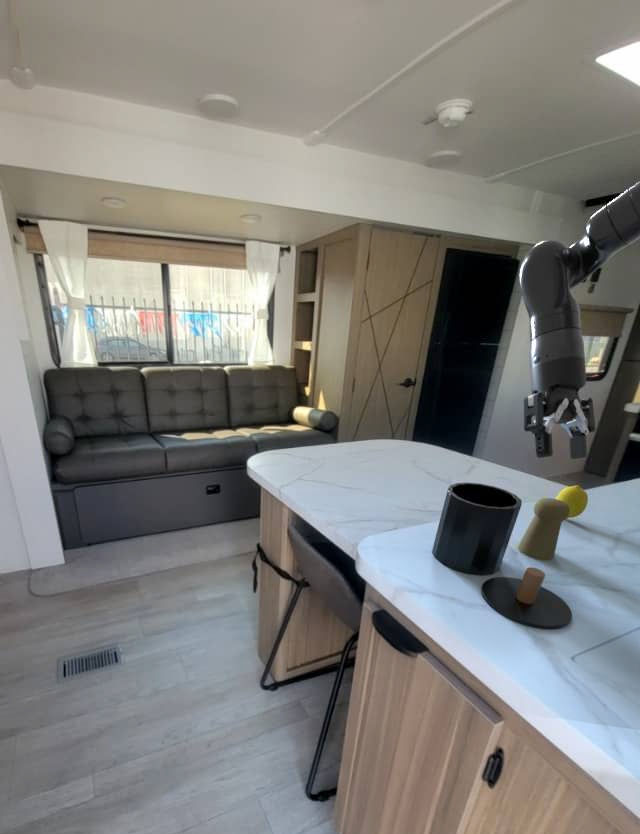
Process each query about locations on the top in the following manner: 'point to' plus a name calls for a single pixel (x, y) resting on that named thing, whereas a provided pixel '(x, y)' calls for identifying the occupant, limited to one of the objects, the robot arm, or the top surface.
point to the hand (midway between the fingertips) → (562, 457)
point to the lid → (527, 600)
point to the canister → (475, 528)
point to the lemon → (574, 500)
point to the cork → (544, 529)
